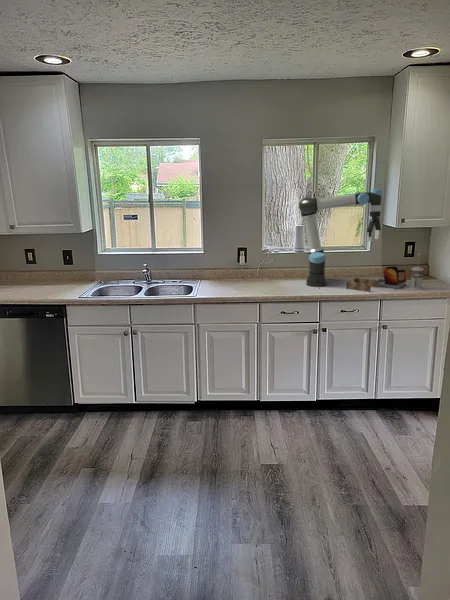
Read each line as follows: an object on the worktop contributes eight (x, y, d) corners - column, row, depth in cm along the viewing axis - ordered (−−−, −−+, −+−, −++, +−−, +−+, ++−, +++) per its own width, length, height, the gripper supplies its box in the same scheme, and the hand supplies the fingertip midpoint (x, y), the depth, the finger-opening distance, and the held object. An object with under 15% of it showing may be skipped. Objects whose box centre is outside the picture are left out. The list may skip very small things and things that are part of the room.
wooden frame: (346, 288, 308) (346, 281, 307) (355, 284, 320) (355, 277, 319) (369, 291, 298) (370, 284, 296) (378, 287, 310) (378, 280, 308)
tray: (371, 285, 315) (371, 282, 314) (379, 281, 327) (379, 278, 326) (398, 289, 302) (399, 286, 302) (406, 284, 314) (406, 281, 314)
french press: (424, 287, 305) (427, 252, 298) (422, 291, 296) (425, 255, 289) (409, 286, 310) (412, 251, 303) (407, 289, 300) (410, 254, 294)
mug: (406, 283, 307) (405, 267, 305) (386, 285, 309) (385, 269, 307) (402, 281, 316) (401, 265, 314) (383, 283, 318) (382, 267, 316)
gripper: (373, 212, 301) (371, 242, 307) (386, 209, 320) (384, 238, 325) (363, 212, 306) (361, 241, 311) (376, 209, 324) (374, 237, 330)
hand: (373, 240), depth 318 cm, fingers open, 13 cm apart
